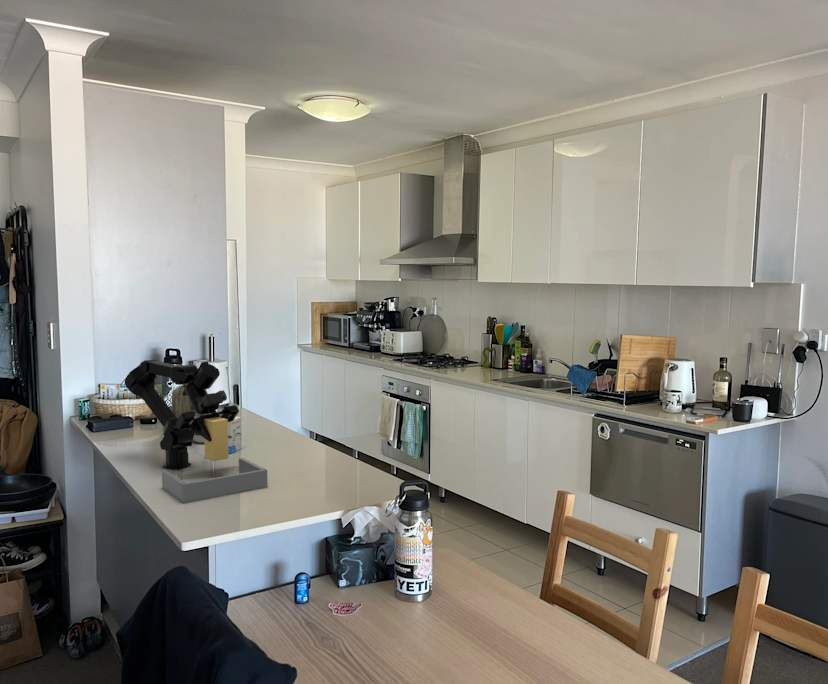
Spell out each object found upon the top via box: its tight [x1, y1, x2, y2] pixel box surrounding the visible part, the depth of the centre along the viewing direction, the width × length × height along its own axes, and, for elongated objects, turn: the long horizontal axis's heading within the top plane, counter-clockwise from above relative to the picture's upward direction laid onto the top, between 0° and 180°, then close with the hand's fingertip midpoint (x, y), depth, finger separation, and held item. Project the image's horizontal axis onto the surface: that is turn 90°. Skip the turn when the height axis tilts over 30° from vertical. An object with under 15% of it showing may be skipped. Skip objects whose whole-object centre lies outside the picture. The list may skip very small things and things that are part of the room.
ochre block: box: [204, 417, 229, 462], centre depth 210 cm, size 5×5×12 cm
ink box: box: [228, 416, 242, 455], centre depth 245 cm, size 9×5×12 cm, turn 168°
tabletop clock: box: [171, 383, 195, 418], centre depth 279 cm, size 14×9×25 cm, turn 179°
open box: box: [161, 457, 268, 504], centre depth 199 cm, size 17×24×6 cm
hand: (218, 439), depth 209 cm, fingers closed on ochre block, 5 cm apart
